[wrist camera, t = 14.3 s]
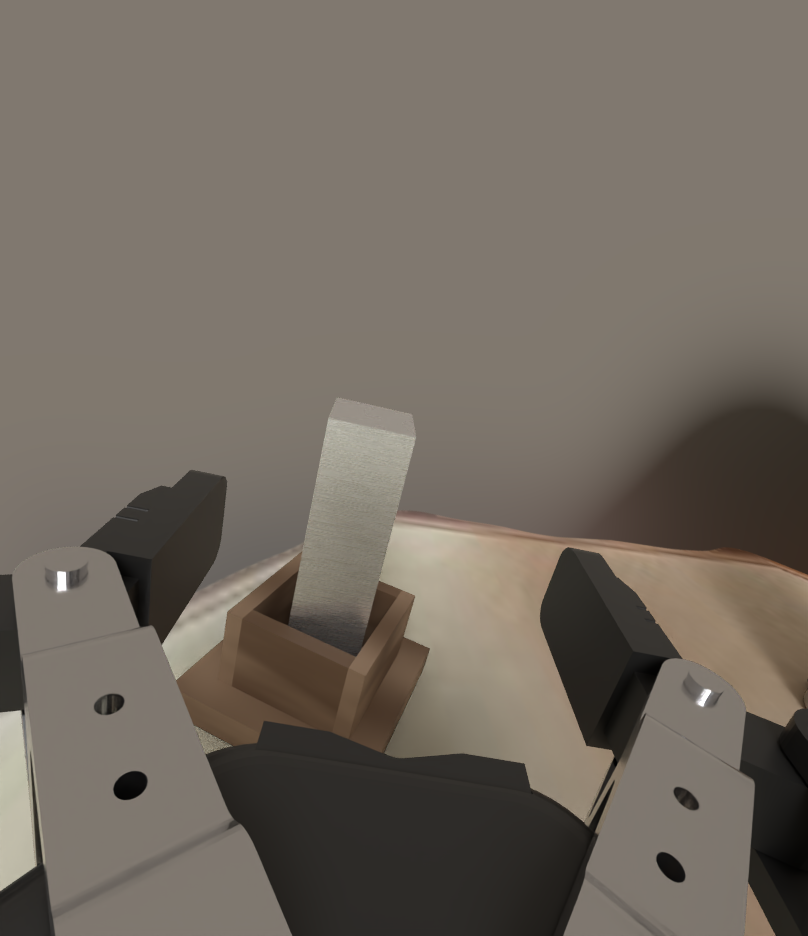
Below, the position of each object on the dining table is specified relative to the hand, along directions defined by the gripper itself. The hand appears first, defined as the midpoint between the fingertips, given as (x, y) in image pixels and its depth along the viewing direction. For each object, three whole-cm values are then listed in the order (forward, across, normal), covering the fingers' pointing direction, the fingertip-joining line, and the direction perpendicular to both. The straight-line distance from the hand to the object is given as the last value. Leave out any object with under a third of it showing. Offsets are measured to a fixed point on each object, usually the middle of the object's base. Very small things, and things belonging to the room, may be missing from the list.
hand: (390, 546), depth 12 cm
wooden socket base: (+11, +1, +16) cm, 19 cm away
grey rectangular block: (+11, +1, +14) cm, 18 cm away
